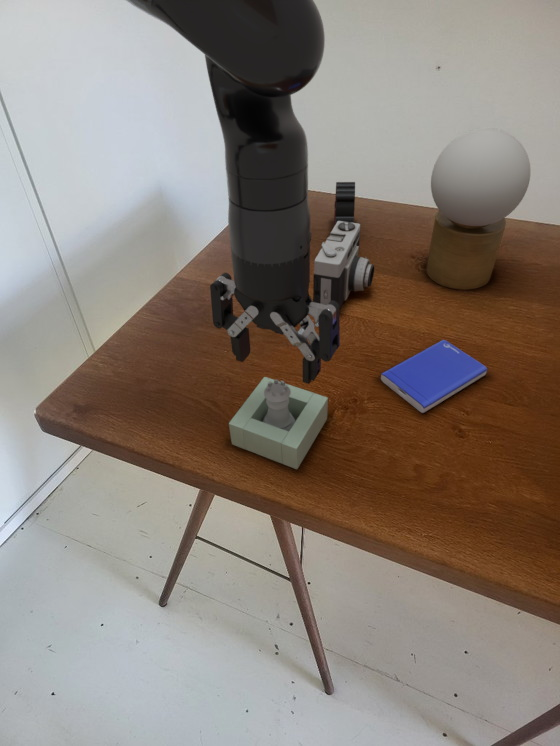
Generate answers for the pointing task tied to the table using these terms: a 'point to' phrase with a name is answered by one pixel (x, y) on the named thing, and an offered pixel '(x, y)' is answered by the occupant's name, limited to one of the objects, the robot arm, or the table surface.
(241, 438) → the socket
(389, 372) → the hard drive
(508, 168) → the lamp
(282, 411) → the rook chess piece
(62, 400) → the table surface
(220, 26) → the robot arm
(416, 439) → the table surface
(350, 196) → the extruded letter emblem
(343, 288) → the camera
